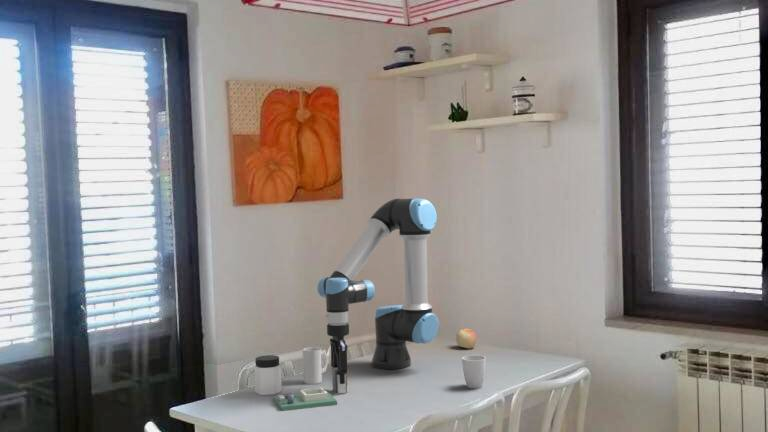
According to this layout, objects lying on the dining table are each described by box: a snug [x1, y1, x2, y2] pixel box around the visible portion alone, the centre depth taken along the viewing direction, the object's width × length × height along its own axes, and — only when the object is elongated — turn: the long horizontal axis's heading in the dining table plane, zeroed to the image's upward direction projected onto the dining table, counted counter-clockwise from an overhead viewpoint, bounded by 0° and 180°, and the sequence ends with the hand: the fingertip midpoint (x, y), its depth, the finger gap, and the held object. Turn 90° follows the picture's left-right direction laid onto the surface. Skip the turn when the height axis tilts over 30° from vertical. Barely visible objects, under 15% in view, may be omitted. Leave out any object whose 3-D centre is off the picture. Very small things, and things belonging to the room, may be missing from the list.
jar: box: [253, 354, 282, 396], centre depth 280 cm, size 9×8×12 cm
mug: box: [302, 346, 329, 385], centre depth 294 cm, size 10×7×12 cm, turn 127°
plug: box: [331, 367, 348, 395], centre depth 279 cm, size 5×4×8 cm
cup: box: [461, 354, 487, 389], centre depth 282 cm, size 8×8×10 cm
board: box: [273, 386, 338, 412], centre depth 267 cm, size 18×14×4 cm
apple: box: [455, 328, 478, 349], centre depth 344 cm, size 9×9×8 cm
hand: (339, 390), depth 279 cm, fingers open, 5 cm apart
